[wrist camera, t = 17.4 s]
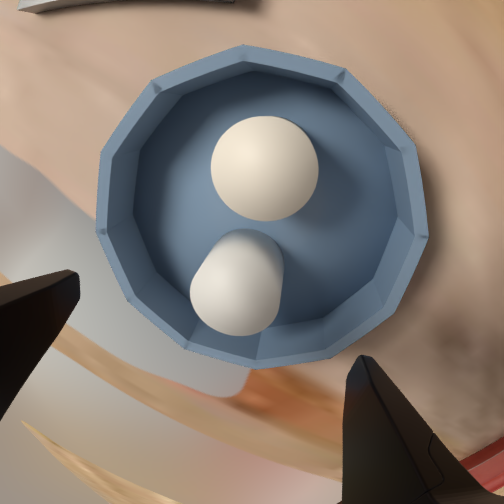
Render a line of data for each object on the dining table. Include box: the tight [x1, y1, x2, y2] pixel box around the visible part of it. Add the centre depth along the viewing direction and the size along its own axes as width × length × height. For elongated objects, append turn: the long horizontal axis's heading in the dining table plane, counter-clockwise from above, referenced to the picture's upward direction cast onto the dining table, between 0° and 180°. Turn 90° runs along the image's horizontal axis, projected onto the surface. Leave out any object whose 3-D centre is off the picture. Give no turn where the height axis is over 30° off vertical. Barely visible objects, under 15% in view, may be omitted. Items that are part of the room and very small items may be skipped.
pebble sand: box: [211, 116, 319, 221], centre depth 16 cm, size 5×5×4 cm
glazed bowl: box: [96, 44, 429, 370], centre depth 18 cm, size 18×18×4 cm
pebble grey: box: [190, 228, 285, 336], centre depth 19 cm, size 5×5×4 cm
